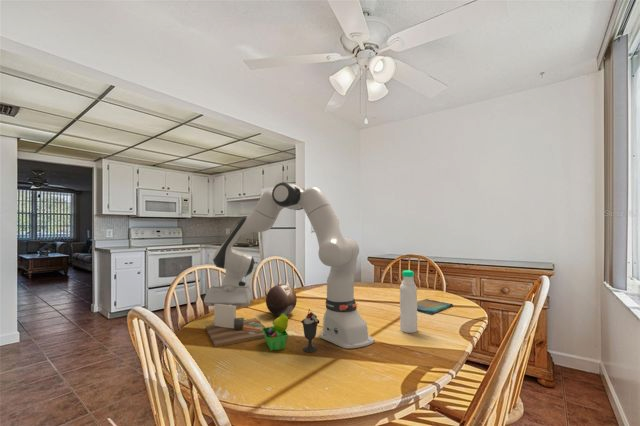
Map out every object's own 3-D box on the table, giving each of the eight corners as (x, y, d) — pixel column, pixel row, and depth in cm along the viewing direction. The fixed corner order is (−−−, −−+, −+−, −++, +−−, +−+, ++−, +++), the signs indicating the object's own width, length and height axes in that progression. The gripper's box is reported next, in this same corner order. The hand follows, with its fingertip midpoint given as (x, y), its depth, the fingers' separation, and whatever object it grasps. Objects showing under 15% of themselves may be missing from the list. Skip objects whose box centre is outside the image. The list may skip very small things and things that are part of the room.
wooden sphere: (283, 322, 140) (283, 289, 141) (259, 316, 148) (259, 285, 149) (302, 313, 153) (302, 283, 153) (279, 309, 161) (279, 280, 161)
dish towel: (401, 309, 163) (401, 304, 163) (424, 301, 178) (424, 296, 179) (431, 316, 150) (431, 311, 150) (453, 307, 166) (453, 302, 166)
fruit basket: (261, 341, 118) (262, 311, 119) (284, 338, 121) (284, 309, 122) (267, 352, 108) (267, 320, 108) (292, 349, 111) (292, 317, 111)
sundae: (305, 355, 106) (305, 311, 106) (298, 348, 111) (297, 306, 112) (322, 351, 109) (322, 308, 109) (314, 344, 115) (314, 304, 115)
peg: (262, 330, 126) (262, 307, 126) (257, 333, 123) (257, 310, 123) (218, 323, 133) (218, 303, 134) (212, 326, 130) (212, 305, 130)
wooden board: (272, 336, 123) (272, 332, 123) (214, 347, 112) (215, 343, 112) (255, 320, 142) (255, 317, 142) (205, 328, 132) (205, 325, 132)
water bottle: (418, 329, 131) (417, 270, 131) (416, 334, 124) (415, 272, 125) (401, 326, 134) (401, 269, 134) (398, 332, 127) (398, 271, 128)
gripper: (207, 282, 141) (197, 310, 131) (251, 283, 140) (244, 311, 130) (211, 289, 145) (202, 317, 135) (253, 290, 144) (247, 318, 134)
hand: (223, 314), depth 133 cm, fingers closed
